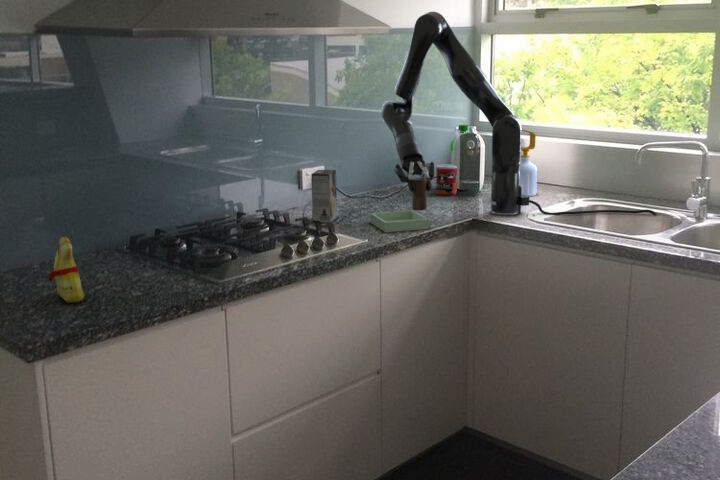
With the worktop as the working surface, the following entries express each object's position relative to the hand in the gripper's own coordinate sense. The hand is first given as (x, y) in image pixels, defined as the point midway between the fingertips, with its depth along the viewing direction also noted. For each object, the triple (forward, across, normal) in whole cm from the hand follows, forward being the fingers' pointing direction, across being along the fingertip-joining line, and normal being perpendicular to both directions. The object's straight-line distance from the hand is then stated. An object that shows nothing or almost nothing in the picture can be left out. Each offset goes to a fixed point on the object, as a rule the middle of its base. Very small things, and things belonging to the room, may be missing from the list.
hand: (421, 190), depth 272 cm
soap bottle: (-11, +52, +26) cm, 59 cm away
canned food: (-19, +25, +33) cm, 46 cm away
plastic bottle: (-24, +35, +38) cm, 57 cm away
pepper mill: (+3, 0, +6) cm, 7 cm away
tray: (+11, -10, +2) cm, 15 cm away
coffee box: (-1, -30, +14) cm, 34 cm away
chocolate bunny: (+42, -110, -29) cm, 121 cm away
